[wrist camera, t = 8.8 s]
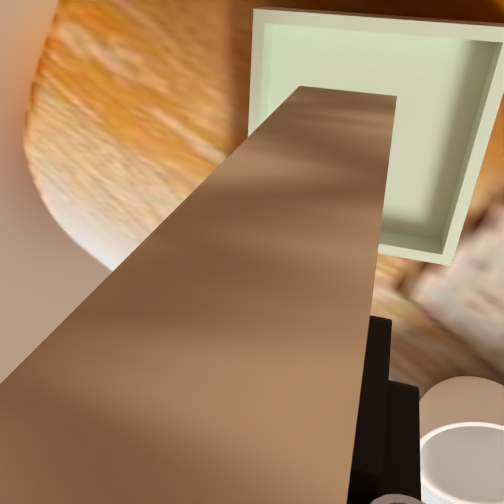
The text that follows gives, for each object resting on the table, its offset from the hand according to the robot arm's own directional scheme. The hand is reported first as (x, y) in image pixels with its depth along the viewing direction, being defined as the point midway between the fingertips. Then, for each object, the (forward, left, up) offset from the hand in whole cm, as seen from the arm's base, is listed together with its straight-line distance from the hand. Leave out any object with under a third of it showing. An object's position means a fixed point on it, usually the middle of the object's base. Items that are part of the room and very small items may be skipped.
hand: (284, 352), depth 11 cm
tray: (0, 0, -19) cm, 19 cm away
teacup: (-11, +17, -19) cm, 28 cm away
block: (0, 0, -7) cm, 7 cm away
